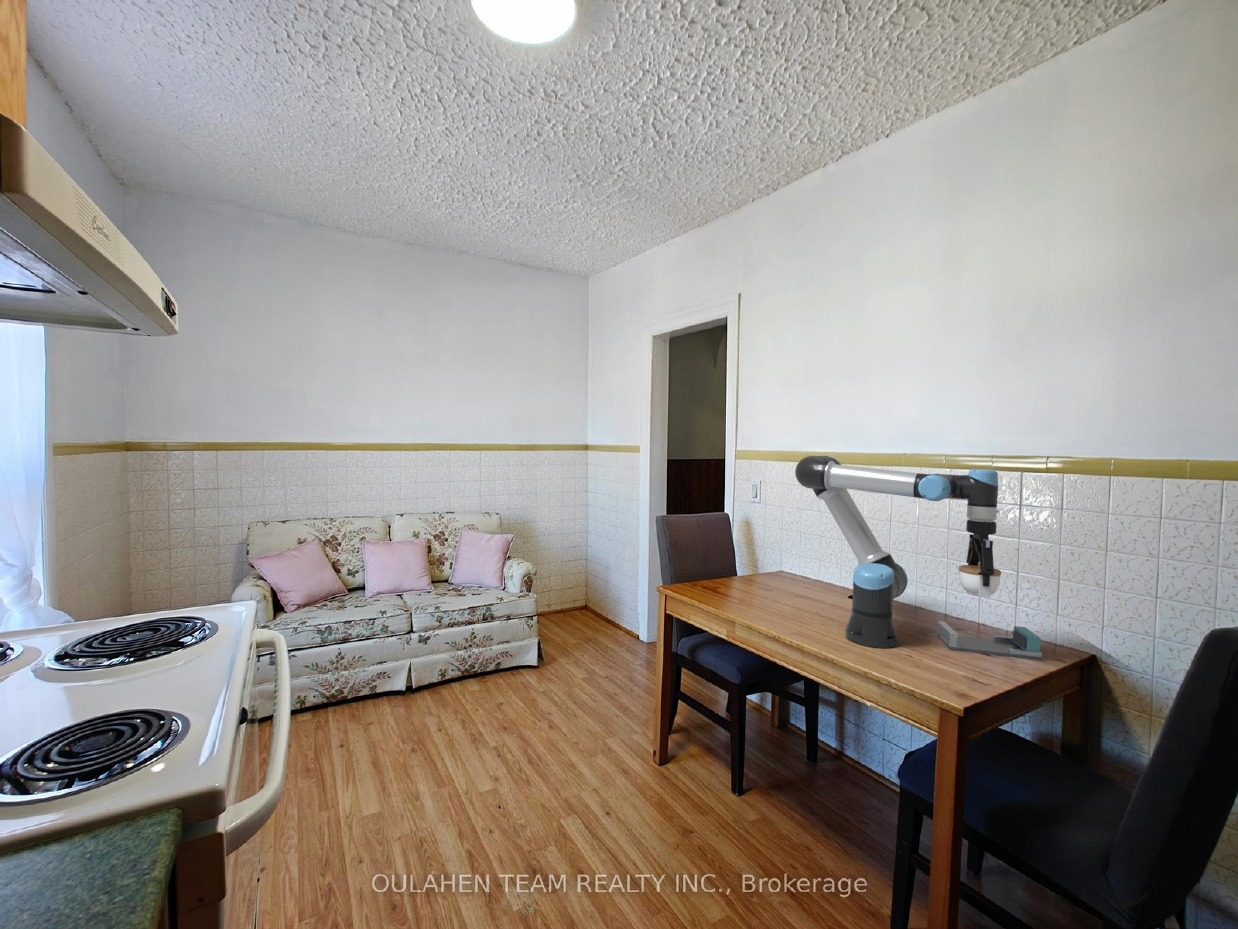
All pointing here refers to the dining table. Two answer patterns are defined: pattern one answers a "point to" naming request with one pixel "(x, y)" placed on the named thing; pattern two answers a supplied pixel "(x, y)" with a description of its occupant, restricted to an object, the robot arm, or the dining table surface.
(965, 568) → the lidded jar
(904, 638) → the dining table surface
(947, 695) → the dining table surface
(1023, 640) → the block
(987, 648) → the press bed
